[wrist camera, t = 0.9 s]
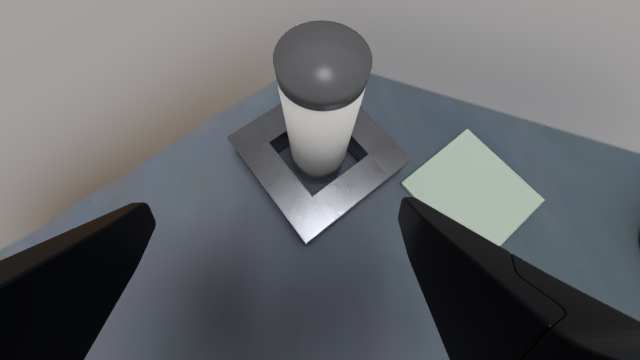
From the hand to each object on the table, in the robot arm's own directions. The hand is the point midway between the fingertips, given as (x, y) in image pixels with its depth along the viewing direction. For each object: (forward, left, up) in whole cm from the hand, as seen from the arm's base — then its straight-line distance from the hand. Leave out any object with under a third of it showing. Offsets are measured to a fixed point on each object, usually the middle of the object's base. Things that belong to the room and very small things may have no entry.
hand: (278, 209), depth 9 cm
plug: (+5, -6, -14) cm, 16 cm away
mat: (-7, -16, -14) cm, 23 cm away
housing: (+5, -6, -14) cm, 16 cm away
